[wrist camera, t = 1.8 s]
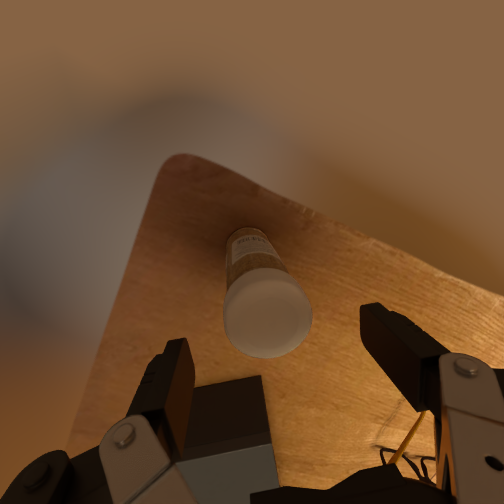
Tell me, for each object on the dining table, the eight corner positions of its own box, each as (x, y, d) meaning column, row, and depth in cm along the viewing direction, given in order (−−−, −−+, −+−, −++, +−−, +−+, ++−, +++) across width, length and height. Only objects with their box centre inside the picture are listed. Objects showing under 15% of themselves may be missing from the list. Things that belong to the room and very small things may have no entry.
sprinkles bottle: (220, 263, 25) (212, 353, 12) (232, 220, 24) (237, 271, 11) (263, 273, 26) (297, 369, 13) (277, 232, 25) (329, 294, 12)
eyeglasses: (367, 450, 35) (384, 483, 32) (419, 371, 32) (445, 397, 28) (446, 465, 38) (470, 497, 34) (502, 393, 35) (536, 420, 31)
